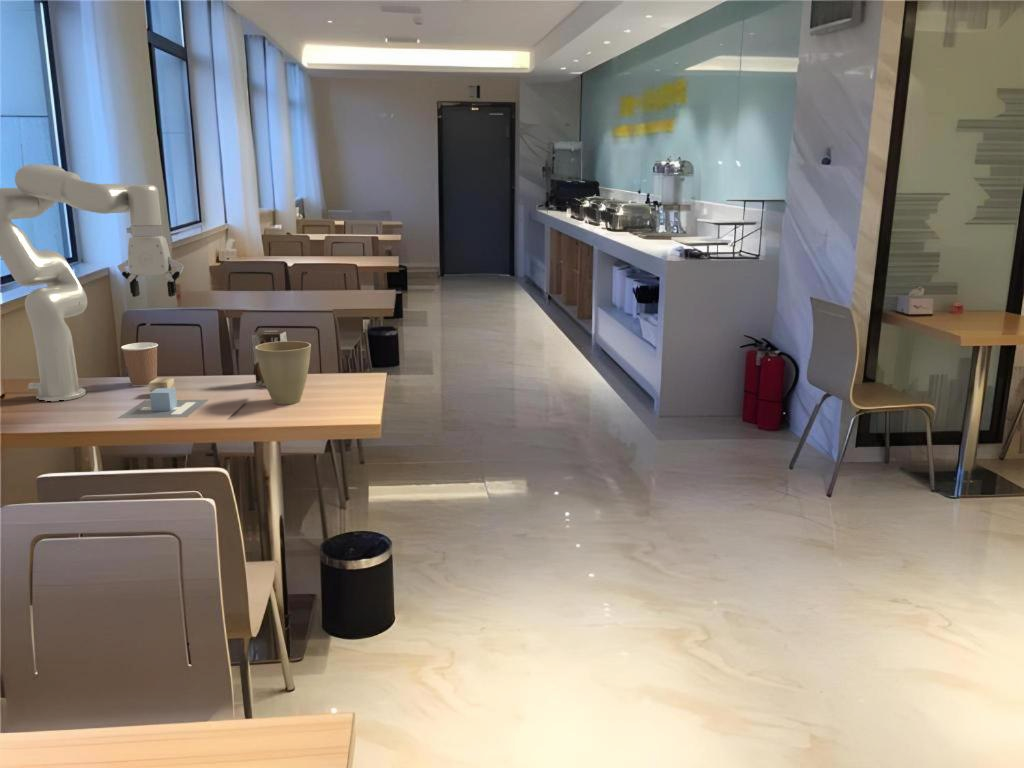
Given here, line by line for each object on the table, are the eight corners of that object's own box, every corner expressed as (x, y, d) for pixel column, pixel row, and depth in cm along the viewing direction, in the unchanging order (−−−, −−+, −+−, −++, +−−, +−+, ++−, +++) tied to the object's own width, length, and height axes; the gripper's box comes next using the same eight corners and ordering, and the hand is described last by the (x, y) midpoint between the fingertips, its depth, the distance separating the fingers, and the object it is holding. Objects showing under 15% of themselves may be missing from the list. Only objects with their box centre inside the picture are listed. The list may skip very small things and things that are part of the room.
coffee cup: (139, 379, 261) (135, 341, 258) (169, 380, 259) (165, 342, 256) (118, 387, 251) (113, 348, 248) (148, 388, 249) (144, 349, 246)
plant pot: (305, 408, 226) (301, 351, 222) (251, 408, 227) (246, 350, 223) (321, 394, 240) (317, 340, 237) (270, 394, 241) (266, 340, 237)
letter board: (117, 420, 216) (116, 418, 216) (144, 402, 234) (144, 400, 233) (187, 419, 217) (186, 417, 216) (209, 401, 234) (209, 399, 234)
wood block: (151, 399, 237) (149, 382, 236) (158, 395, 242) (156, 378, 241) (168, 399, 237) (166, 382, 236) (175, 394, 242) (173, 378, 241)
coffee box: (292, 381, 256) (288, 329, 253) (284, 386, 250) (280, 333, 246) (263, 381, 257) (259, 329, 253) (255, 386, 251) (250, 333, 247)
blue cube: (151, 411, 222) (149, 393, 221) (158, 406, 227) (156, 388, 226) (170, 410, 223) (168, 392, 221) (177, 405, 227) (175, 388, 226)
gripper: (108, 233, 218) (115, 298, 223) (174, 233, 219) (181, 297, 223) (120, 231, 226) (127, 294, 230) (184, 231, 226) (191, 294, 230)
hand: (154, 296), depth 226 cm, fingers open, 9 cm apart
